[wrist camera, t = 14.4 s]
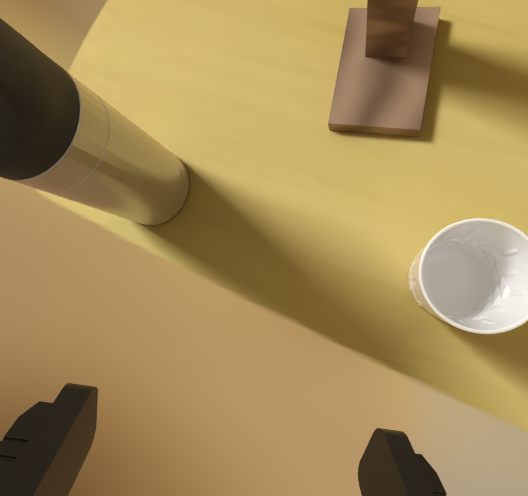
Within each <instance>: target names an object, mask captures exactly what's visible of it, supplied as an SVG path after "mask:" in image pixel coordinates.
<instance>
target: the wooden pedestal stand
mask: <svg viewBox="0 0 528 496" xmlns="http://www.w3.org/2000/svg"><path fill="white" fill-rule="evenodd" d="M417 3H418V0H368V4H367V8H350V10H349V15H348V20H347V26H346V31H345V36H344V42H343V47H342V53H341V58H340V63H339V69H338V74H337V79H336V85H335V90H334V95H333V101H332V106H331V112H330V117H329V122H328V125H329V130H339V131H352V132H365V133H378V134H391V135H404V136H417V137H418V135H419V132H420V129H421V123H422V117H423V111H424V105H425V99H426V93H427V87H428V81H429V74H430V68H431V62H432V56H433V50H434V44H435V38H436V32H437V26H438V20H439V14H440V7H417Z"/></svg>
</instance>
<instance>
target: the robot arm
mask: <svg viewBox="0 0 528 496" xmlns="http://www.w3.org/2000/svg"><path fill="white" fill-rule="evenodd" d="M0 177H2V178H5V179H9V180H12V181H15V182H18V183H21V184H24V185H27V186H30V187H33V188H36V189H39V190H42V191H45V192H48V193H51V194H54V195H57V196H60V197H63V198H66V199H69V200H72V201H75V202H78V203H81V204H84V205H87V206H90V207H93V208H96V209H99V210H102V211H105V212H108V213H111V214H114V215H117V216H119V217H122V218H125V219H128V220H131V221H134V222H137V223H140V224H144V225H158V224H161V223H164V222H166V221H168V220H170V219H171V218H172V217H173V216H175V215H176V214H177V213H178V212H179V210H180V209H181V208H182V206H183V204H184V203H185V201H186V198H187V195H188V190H189V177H188V173H187V170H186V168H185V166H184V165H183V163H182V162H181V161H180V160H179V159H178V158H177V157H176V156H175V155H174V154H172V153H171V152H170V151H168V150H167V149H166V148H165V147H163V146H162V145H161V144H160V143H158V142H157V141H156V140H154V139H153V138H152V137H151V136H149V135H148V134H147V133H145V132H144V131H143V130H142V129H140V128H139V127H138V126H136V125H135V124H134V123H133V122H131V121H130V120H129V119H127V118H126V117H125V116H124V115H122V114H121V113H120V112H118V111H117V110H116V109H115V108H113V107H112V106H111V105H109V104H108V103H107V102H106V101H104V100H103V99H102V98H100V97H99V96H98V95H97V94H95V93H94V92H93V91H91V90H90V89H89V88H87V87H86V86H85V85H83V84H82V83H81V82H80V81H78V80H77V79H76V78H74V77H73V76H72V75H70V74H69V73H68V72H67V71H65V70H64V69H63V68H61V67H60V66H59V65H57V64H56V63H55V62H54V61H52V60H51V59H50V58H49V57H47V56H46V55H45V54H44V53H42V52H41V51H40V50H39V49H37V48H36V47H35V46H34V45H33V44H32V43H30V42H29V41H28V40H27V39H25V38H24V37H23V36H22V35H21V34H19V33H18V32H17V31H15V30H14V29H13V28H12V27H11V26H9V25H8V24H7V23H6V22H5V21H3V20H2V19H1V18H0ZM97 396H98V389H97V387H92V386H86V385H79V384H72V383H68V384H66V385H65V386H64V388H63V389H62V390H61V392H60V393H59V395H58V396H57V398H56V399H55V401H54V402H53V403H47V402H38V403H37V404H35V405H34V406H33V407H31V408H30V409H29V410H27V411H26V412H25V413H24V414H22V415H21V416H19V417H18V419H17V420H16V421H15V423H14V424H13V425H12V427H11V428H10V429H9V431H8V432H7V433H6V435H5V436H4V439H3V441H0V496H68V494H69V492H70V490H71V488H72V486H73V484H74V482H75V480H76V478H77V476H78V473H79V471H80V469H81V467H82V465H83V463H84V460H85V459H86V456H87V454H88V452H89V450H90V447H91V445H92V442H93V439H94V435H95V430H96V419H97V398H98V397H97ZM358 480H359V486H360V490H361V494H362V496H446V492H445V489H444V487H443V486H442V483H441V481H440V479H439V477H438V475H437V473H436V472H435V470H434V469H433V468H432V467H431V466H430V464H429V463H428V462H427V461H426V459H425V458H424V457H423V456H422V455H421V454H415V452H414V450H413V448H412V446H411V443H410V441H409V439H408V437H407V435H406V434H405V433H404V432H401V431H394V430H387V429H380V428H377V429H376V430H375V431H374V433H373V435H372V437H371V439H370V441H369V443H368V445H367V448H366V450H365V452H364V454H363V456H362V458H361V460H360V463H359V468H358Z"/></svg>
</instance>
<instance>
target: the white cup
mask: <svg viewBox="0 0 528 496" xmlns="http://www.w3.org/2000/svg"><path fill="white" fill-rule="evenodd" d="M407 277H408V284H409V290H410V293H411V294H412V296H413V297H414V299H415V300H416V302H417V303H418V305H419V306H421V307H422V308H424V309H425V310H426V311H427V312H429V313H430V314H432V315H433V316H435V317H437V318H438V319H440V320H442V321H444V322H447V323H449V324H451V325H453V326H455V327H457V328H459V329H462V330H465V331H468V332H472V333H478V334H497V333H503V332H507V331H510V330H513V329H515V328H517V327H519V326H521V325H523V324H524V323H526V322H527V321H528V236H527V235H526V234H525V233H523V232H522V231H520V230H519V229H517V228H516V227H514V226H512V225H509V224H507V223H504V222H501V221H498V220H493V219H485V218H475V219H467V220H462V221H459V222H456V223H453V224H451V225H449V226H447V227H446V228H444V229H442V230H441V231H440V232H438V233H437V234H436V235H435V236H434V237H433V238H432V239H431V240H430V241H429V242H428V243H427V244H426V245H425V246H424V247H423V248H422V249H421V251H420V252H419V253H418V255H417V256H416V257H415V259H414V260H413V262H412V264H411V267H410V270H409V273H408V276H407Z"/></svg>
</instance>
